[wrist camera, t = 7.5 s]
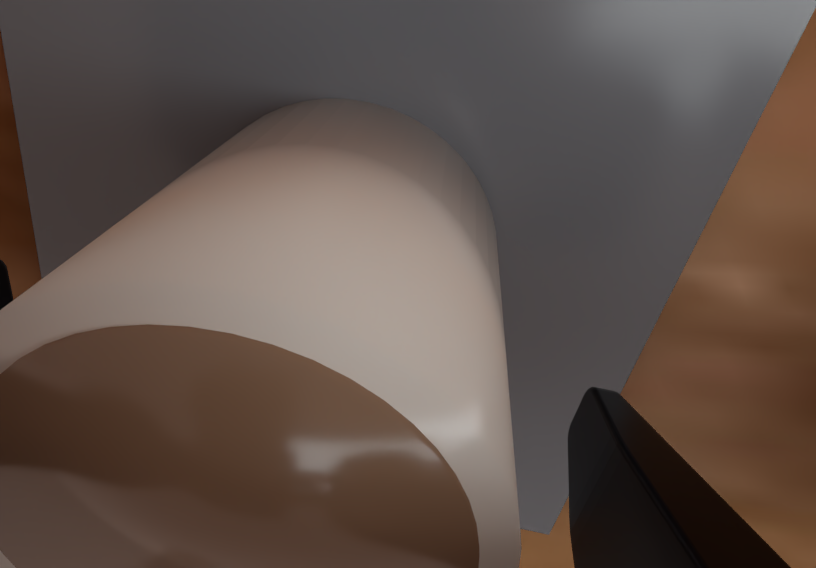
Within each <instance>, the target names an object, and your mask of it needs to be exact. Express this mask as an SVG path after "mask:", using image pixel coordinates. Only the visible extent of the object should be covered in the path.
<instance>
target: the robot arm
mask: <svg viewBox="0 0 816 568" xmlns="http://www.w3.org/2000/svg"><path fill="white" fill-rule="evenodd" d="M12 301H13V296H12V291H11V286H10V281H9V276H8V271H7V267H6V265H5V264H4V262H3V261H2V260H0V310H1V309H2V308H4V307H5V306H6V305H8V304H9V303H10V302H12ZM568 479H569V518H570V535H571V543H572V551H573V559H574V566H575V568H791V567H790V566H789V565H788V564H787V563H786V562H785V561H784V560H783V559H782V558H781V557H780V556H779V555H778V554H777V553H776V552H775V551H774V550H773V549H772V548H771V547H770V546H769V545H768V544H767V543H766V542H765V541H764V540H763V539H762V538H761V537H760V536H759V535H758V534H757V533H756V532H755V531H754V530H753V529H752V528H751V527H750V526H749V525H748V524H747V523H746V522H745V521H744V520H743V519H742V518H741V517H740V516H739V515H738V514H737V513H736V512H735V511H734V510H733V509H732V508H731V507H730V506H729V505H728V504H727V503H726V501H725V500H724V499H723V498H722V497H721V496H720V495H719V494H718V493H717V492H716V491H715V490H714V489H713V488H712V487H711V486H710V485H709V484H708V483H707V482H706V481H705V480H704V479H703V478H702V477H701V476H700V475H699V474H698V473H697V472H696V471H695V470H694V469H693V468H692V467H691V466H690V465H689V464H688V463H687V462H686V461H685V460H684V459H683V458H682V457H681V456H680V455H679V454H678V453H677V452H676V451H675V450H674V449H673V448H672V447H671V446H670V445H669V444H668V443H667V442H666V441H665V440H664V439H663V438H662V437H661V436H660V435H659V434H658V433H657V432H656V431H655V430H654V429H653V427H652V426H651V425H650V424H649V423H648V422H647V421H646V420H645V419H644V418H643V417H642V416H641V415H640V414H639V413H638V412H637V411H636V410H635V409H634V408H633V407H632V406H631V405H630V404H629V403H628V402H627V401H626V400H625V399H624V398H623V397H622V396H621V395H620V394H619V393H617V392H615V391H612V390H607V389H603V388H598V387H591V388H589V389H588V390H587V391H586V392H585V394H584V396H583V398H582V400H581V402H580V405H579V407H578V409H577V411H576V413H575V415H574V418H573V420H572V422H571V424H570V427H569V431H568Z"/></svg>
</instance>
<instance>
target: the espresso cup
mask: <svg viewBox="0 0 816 568" xmlns="http://www.w3.org/2000/svg"><path fill="white" fill-rule="evenodd" d="M520 555H521V535H520V520H519V507H518V495H517V483H516V470H515V458H514V446H513V434H512V421H511V409H510V397H509V385H508V372H507V360H506V348H505V336H504V323H503V311H502V299H501V286H500V274H499V262H498V250H497V237H496V229H495V224H494V219H493V215H492V211H491V208H490V205H489V203H488V200H487V197H486V195H485V192H484V191H483V189H482V187H481V185H480V183H479V181H478V180H477V178H476V176H475V174H474V173H473V172H472V170H471V169H470V168H469V166H468V165H467V163H466V162H465V161H464V159H463V158H462V157H461V156H460V155H459V154H458V153H457V152H456V151H455V150H454V149H453V148H452V147H451V146H450V145H449V144H448V143H447V142H446V141H445V140H444V139H442V138H441V137H440V136H439V135H437V134H436V133H435V132H434V131H432V130H431V129H430V128H428V127H426V126H425V125H423V124H421V123H420V122H418V121H416V120H415V119H413V118H411V117H409V116H407V115H404V114H402V113H400V112H398V111H395V110H393V109H391V108H387V107H384V106H380V105H377V104H373V103H370V102H364V101H358V100H351V99H317V100H309V101H303V102H299V103H295V104H292V105H288V106H284V107H282V108H279V109H277V110H275V111H272V112H270V113H268V114H266V115H264V116H262V117H261V118H259V119H257V120H256V121H254V122H253V123H251V124H250V125H248V126H247V127H245V128H244V129H243V130H241V131H240V132H239V133H237V134H236V135H235V136H233V137H232V138H231V139H229V140H228V141H226V142H225V143H224V144H222V145H221V146H220V147H218V148H217V149H216V150H214V151H213V152H212V153H210V154H209V155H208V156H206V157H205V158H204V159H202V160H201V161H200V162H198V163H197V164H196V165H194V166H193V167H192V168H190V169H189V170H188V171H186V172H185V173H184V174H182V175H181V176H179V177H178V178H177V179H175V180H174V181H173V182H171V183H170V184H169V185H167V186H166V187H165V188H163V189H162V190H161V191H159V192H158V193H157V194H155V195H154V196H153V197H151V198H150V199H149V200H147V201H146V202H145V203H143V204H142V205H141V206H139V207H138V208H137V209H135V210H134V211H133V212H131V213H130V214H128V215H127V216H126V217H124V218H123V219H122V220H120V221H119V222H118V223H116V224H115V225H114V226H112V227H111V228H110V229H108V230H107V231H106V232H104V233H103V234H102V235H100V236H99V237H98V238H96V239H95V240H94V241H92V242H91V243H90V244H88V245H87V246H86V247H84V248H83V249H81V250H80V251H79V252H77V253H76V254H75V255H73V256H72V257H71V258H69V259H68V260H67V261H65V262H64V263H63V264H61V265H60V266H59V267H57V268H56V269H55V270H53V271H52V272H51V273H49V274H48V275H47V276H45V277H44V278H43V279H41V280H40V281H39V282H37V283H36V284H35V285H33V286H32V287H30V288H29V289H28V290H26V291H25V292H24V293H22V294H21V295H20V296H18V297H17V298H16V299H14V300H13V301H12V302H10V303H9V304H8V305H6V306H5V307H4V308H2V309H1V310H0V568H519V561H520Z"/></svg>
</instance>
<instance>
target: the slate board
mask: <svg viewBox="0 0 816 568" xmlns="http://www.w3.org/2000/svg"><path fill="white" fill-rule="evenodd" d="M815 8H816V0H0V30H1V36H2V42H3V48H4V54H5V60H6V66H7V72H8V78H9V84H10V90H11V96H12V102H13V108H14V114H15V120H16V126H17V133H18V139H19V145H20V151H21V157H22V163H23V169H24V175H25V181H26V187H27V193H28V199H29V205H30V211H31V217H32V223H33V229H34V235H35V241H36V247H37V253H38V260H39V266H40V272H41V278H42V279H43V278H44V277H45V276H47V275H48V274H49V273H51V272H52V271H53V270H55V269H56V268H57V267H59V266H60V265H61V264H63V263H64V262H65V261H67V260H68V259H69V258H71V257H72V256H73V255H75V254H76V253H77V252H79V251H80V250H81V249H83V248H84V247H86V246H87V245H88V244H90V243H91V242H92V241H94V240H95V239H96V238H98V237H99V236H100V235H102V234H103V233H104V232H106V231H107V230H108V229H110V228H111V227H112V226H114V225H115V224H116V223H118V222H119V221H120V220H122V219H123V218H124V217H126V216H127V215H128V214H130V213H131V212H133V211H134V210H135V209H137V208H138V207H139V206H141V205H142V204H143V203H145V202H146V201H147V200H149V199H150V198H151V197H153V196H154V195H155V194H157V193H158V192H159V191H161V190H162V189H163V188H165V187H166V186H167V185H169V184H170V183H171V182H173V181H174V180H175V179H177V178H178V177H179V176H181V175H182V174H184V173H185V172H186V171H188V170H189V169H190V168H192V167H193V166H194V165H196V164H197V163H198V162H200V161H201V160H202V159H204V158H205V157H206V156H208V155H209V154H210V153H212V152H213V151H214V150H216V149H217V148H218V147H220V146H221V145H222V144H224V143H225V142H226V141H228V140H229V139H231V138H232V137H233V136H235V135H236V134H237V133H239V132H240V131H241V130H243V129H244V128H245V127H247V126H248V125H250V124H251V123H253V122H254V121H256V120H257V119H259V118H261V117H262V116H264V115H266V114H268V113H270V112H272V111H275V110H277V109H279V108H282V107H284V106H288V105H292V104H295V103H299V102H303V101H309V100H317V99H351V100H358V101H364V102H370V103H373V104H377V105H380V106H384V107H387V108H391V109H393V110H395V111H398V112H400V113H402V114H404V115H407V116H409V117H411V118H413V119H415V120H416V121H418V122H420V123H421V124H423V125H425V126H426V127H428V128H430V129H431V130H432V131H434V132H435V133H436V134H437V135H439V136H440V137H441V138H442V139H444V140H445V141H446V142H447V143H448V144H449V145H450V146H451V147H452V148H453V149H454V150H455V151H456V152H457V153H458V154H459V155H460V156H461V157H462V158H463V159H464V161H465V162H466V163H467V165H468V166H469V168H470V169H471V170H472V172H473V173H474V174H475V176H476V178H477V180H478V181H479V183H480V185H481V187H482V189H483V191H484V192H485V195H486V197H487V200H488V203H489V205H490V208H491V211H492V215H493V219H494V224H495V229H496V237H497V250H498V262H499V274H500V286H501V299H502V311H503V323H504V336H505V348H506V360H507V372H508V385H509V397H510V409H511V421H512V434H513V446H514V458H515V470H516V483H517V495H518V507H519V520H520V529H525V530H530V531H534V532H539V533H544V534H548V535H549V533H550V531H551V529H552V527H553V526H554V524H555V522H556V520H557V518H558V516H559V514H560V512H561V510H562V508H563V506H564V504H565V502H566V500H567V498H568V496H569V479H568V431H569V427H570V424H571V422H572V420H573V418H574V415H575V413H576V411H577V409H578V407H579V405H580V402H581V400H582V398H583V396H584V394H585V392H586V391H587V390H588V389H589V388H591V387H598V388H603V389H607V390H612V391H615V392H617V393H619V394H620V393H621V391H622V389H623V387H624V385H625V383H626V381H627V379H628V377H629V375H630V373H631V371H632V369H633V367H634V365H635V363H636V362H637V360H638V358H639V356H640V354H641V352H642V350H643V348H644V346H645V344H646V342H647V340H648V338H649V336H650V334H651V332H652V330H653V328H654V326H655V324H656V322H657V320H658V318H659V316H660V314H661V312H662V310H663V308H664V306H665V304H666V302H667V300H668V298H669V296H670V294H671V292H672V290H673V288H674V286H675V284H676V282H677V281H678V279H679V277H680V275H681V273H682V271H683V269H684V267H685V265H686V263H687V261H688V259H689V257H690V255H691V253H692V251H693V249H694V247H695V245H696V243H697V241H698V239H699V237H700V235H701V233H702V231H703V229H704V227H705V225H706V223H707V221H708V219H709V217H710V215H711V213H712V211H713V209H714V207H715V205H716V203H717V201H718V199H719V198H720V196H721V194H722V192H723V190H724V188H725V186H726V184H727V182H728V180H729V178H730V176H731V174H732V172H733V170H734V168H735V166H736V164H737V162H738V160H739V158H740V156H741V154H742V152H743V150H744V148H745V146H746V144H747V142H748V140H749V138H750V136H751V134H752V132H753V130H754V128H755V126H756V124H757V122H758V120H759V118H760V117H761V115H762V113H763V111H764V109H765V107H766V105H767V103H768V101H769V99H770V97H771V95H772V93H773V91H774V89H775V87H776V85H777V83H778V81H779V79H780V77H781V75H782V73H783V71H784V69H785V67H786V65H787V63H788V61H789V59H790V57H791V55H792V53H793V51H794V49H795V47H796V45H797V43H798V41H799V39H800V37H801V35H802V34H803V32H804V30H805V28H806V26H807V24H808V22H809V20H810V18H811V16H812V14H813V12H814V10H815Z"/></svg>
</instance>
